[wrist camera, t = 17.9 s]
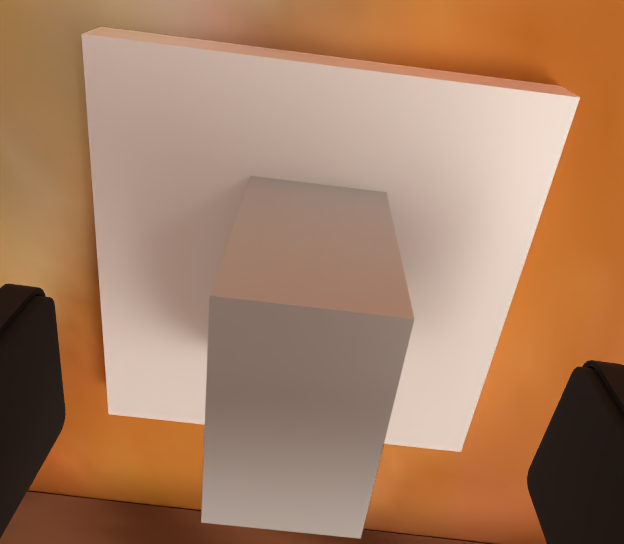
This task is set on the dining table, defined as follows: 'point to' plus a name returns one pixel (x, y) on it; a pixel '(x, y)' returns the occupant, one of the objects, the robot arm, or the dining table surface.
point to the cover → (306, 256)
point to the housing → (155, 526)
